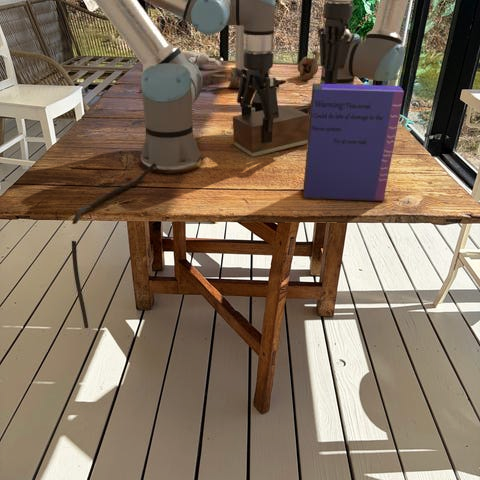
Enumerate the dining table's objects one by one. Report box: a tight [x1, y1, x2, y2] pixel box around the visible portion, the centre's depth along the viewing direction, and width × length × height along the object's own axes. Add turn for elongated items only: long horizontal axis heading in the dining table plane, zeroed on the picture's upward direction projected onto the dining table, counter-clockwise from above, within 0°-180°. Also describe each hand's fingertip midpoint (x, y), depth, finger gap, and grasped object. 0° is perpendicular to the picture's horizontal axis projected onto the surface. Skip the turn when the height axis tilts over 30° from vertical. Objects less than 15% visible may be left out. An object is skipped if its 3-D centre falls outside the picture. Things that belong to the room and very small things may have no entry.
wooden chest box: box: [232, 105, 309, 157], centre depth 133 cm, size 18×11×8 cm, turn 119°
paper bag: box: [234, 25, 271, 74], centre depth 210 cm, size 19×15×28 cm
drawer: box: [296, 104, 311, 131], centre depth 138 cm, size 23×9×6 cm, turn 119°
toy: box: [181, 50, 222, 69], centre depth 224 cm, size 24×25×7 cm
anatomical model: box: [297, 50, 320, 82], centre depth 207 cm, size 13×9×15 cm
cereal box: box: [302, 83, 405, 202], centre depth 102 cm, size 17×5×24 cm, turn 86°
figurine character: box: [250, 91, 263, 113], centre depth 154 cm, size 7×8×15 cm
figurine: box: [209, 66, 287, 89], centre depth 190 cm, size 24×8×30 cm
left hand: (256, 136), depth 132 cm, fingers closed on wooden chest box, 11 cm apart
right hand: (328, 93), depth 137 cm, fingers closed
